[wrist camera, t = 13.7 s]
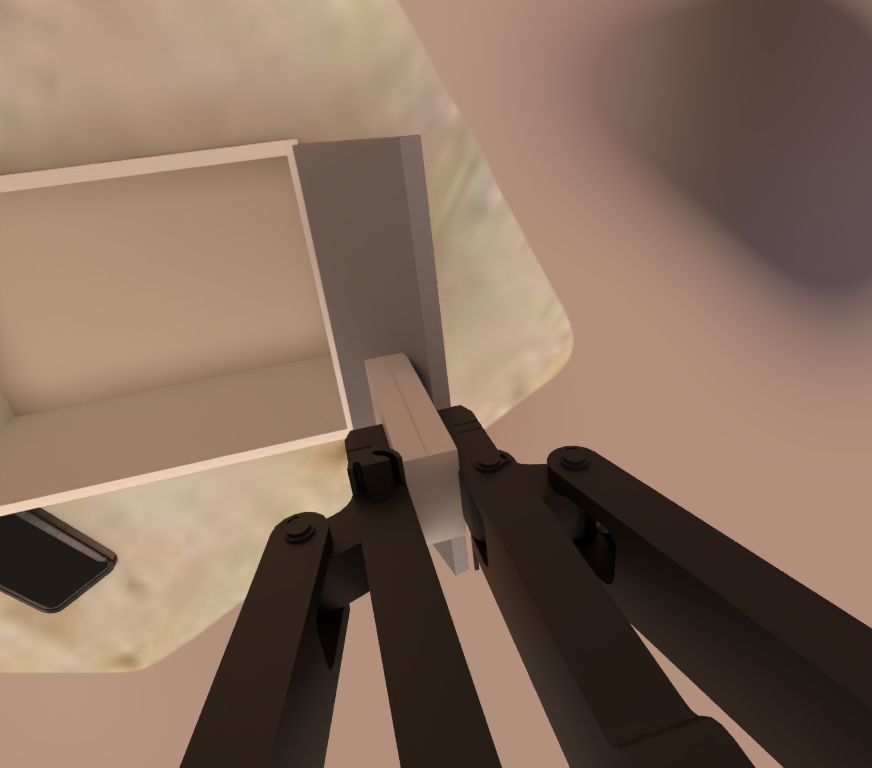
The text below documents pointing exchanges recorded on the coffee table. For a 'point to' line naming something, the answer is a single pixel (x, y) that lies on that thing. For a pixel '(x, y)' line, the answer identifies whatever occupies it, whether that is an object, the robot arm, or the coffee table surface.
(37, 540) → the phone
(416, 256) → the flap
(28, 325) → the carton
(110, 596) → the coffee table surface
